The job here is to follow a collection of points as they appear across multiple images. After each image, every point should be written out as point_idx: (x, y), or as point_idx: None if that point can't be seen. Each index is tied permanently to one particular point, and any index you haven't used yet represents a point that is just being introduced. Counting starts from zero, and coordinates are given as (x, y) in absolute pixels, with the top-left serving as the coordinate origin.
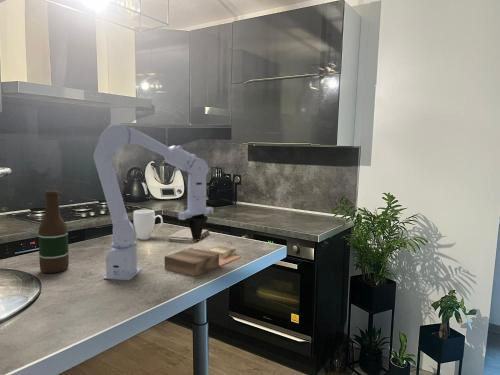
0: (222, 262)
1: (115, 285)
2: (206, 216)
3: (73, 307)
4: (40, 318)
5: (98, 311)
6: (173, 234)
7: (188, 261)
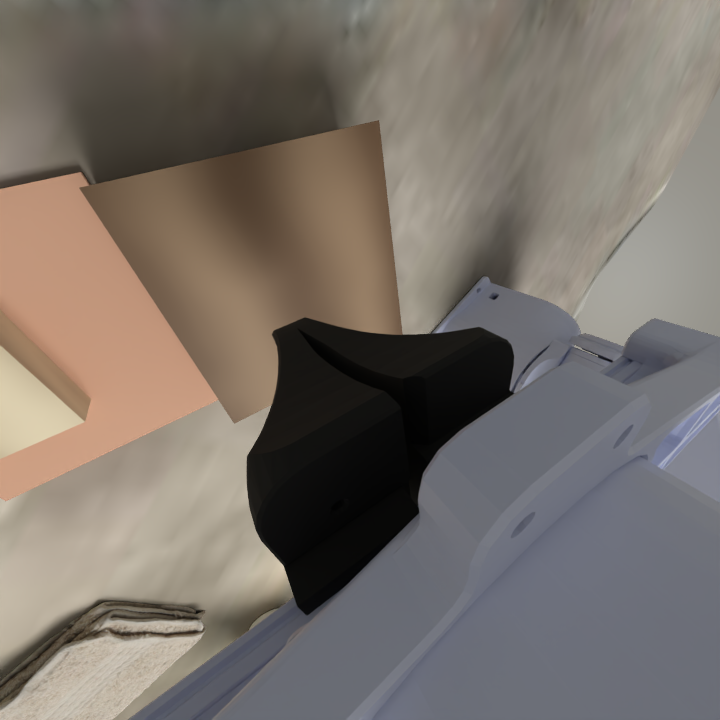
0: (27, 220)
1: (519, 257)
2: (283, 510)
3: (615, 181)
4: (649, 172)
5: (625, 106)
6: (170, 661)
7: (376, 191)
